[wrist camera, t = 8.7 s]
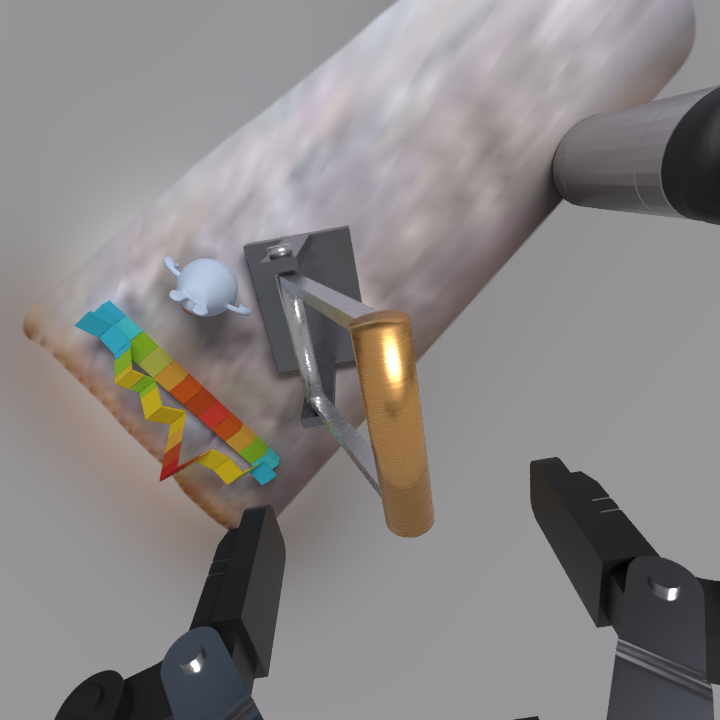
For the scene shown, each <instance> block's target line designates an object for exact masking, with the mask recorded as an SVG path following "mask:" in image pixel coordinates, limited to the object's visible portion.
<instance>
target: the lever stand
mask: <svg viewBox="0 0 720 720" xmlns="http://www.w3.org/2000/svg"><path fill="white" fill-rule="evenodd" d="M243 247H244V250H245V254H246V258H247V261H248V265H249V268H250V272H251V276H252V279H253V283H254V287H255V290H256V294H257V297H258V301H259V305H260V308H261V312H262V315H263V319H264V323H265V326H266V330H267V333H268V337H269V341H270V344H271V348H272V351H273V355H274V359H275V362H276V366H277V369H278V373H281V372H287V371H293V370H299V368H298V364H297V360H296V356H295V352H294V348H293V344H292V340H291V336H290V332H289V328H288V325H287V321H286V317H285V313H284V309H283V305H282V301H281V297H280V293H279V289H278V285H277V281H276V277H275V274H277V273H280V272H285V271H291V270H295V271H296V273H298V274H300V275H302V276H304V277H307V278H309V279H311V280H313V281H315V282H317V283H320V284H322V285H324V286H326V287H328V288H330V289H332V290H335V291H337V292H339V293H341V294H343V295H345V296H347V297H350V298H352V299H354V300H356V301H358V302H360V303H362V301H361V295H360V289H359V283H358V277H357V272H356V266H355V260H354V254H353V248H352V243H351V237H350V231H349V226H343V227H337V228H332V229H326V230H321V231H315V232H310V233H304V234H299V235H293V236H288V237H282V238H276V239H271V240H265V241H260V242H254V243H249V244H246V245H245V246H243ZM303 305H304V310H305V314H306V318H307V323H308V327H309V331H310V335H311V340H312V344H313V348H314V353H315V357H316V361H317V366H318V370H319V374H320V378H321V383H322V387H323V391H324V395H325V396H326V397H327V398H328V399H329V400H330V402H331V403H332V404H333V405H334V406H335V382H336V363H340V362H346V361H352V360H355V356H354V350H353V345H352V340H351V334H350V331H349V330H347V329H346V328H344V327H343V326H341V325H340V324H338V323H336V322H335V321H333V320H332V319H330V318H329V317H327V316H326V315H324V314H323V313H321V312H319V311H318V310H316V309H315V308H313V307H312V306H310V305H309V304H307V303H305V302H304V301H303ZM301 421H302V425H303V428H308V427H323V426H325V423H324V422H323V421H322V419H321V418H320V417H319V416H318V414H317V413H316V412H315V410H314V409H313V408H312V407H311V406H309V405H308V403H307V399H306V395H305V400H304V405H303V411H302V417H301Z"/></svg>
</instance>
